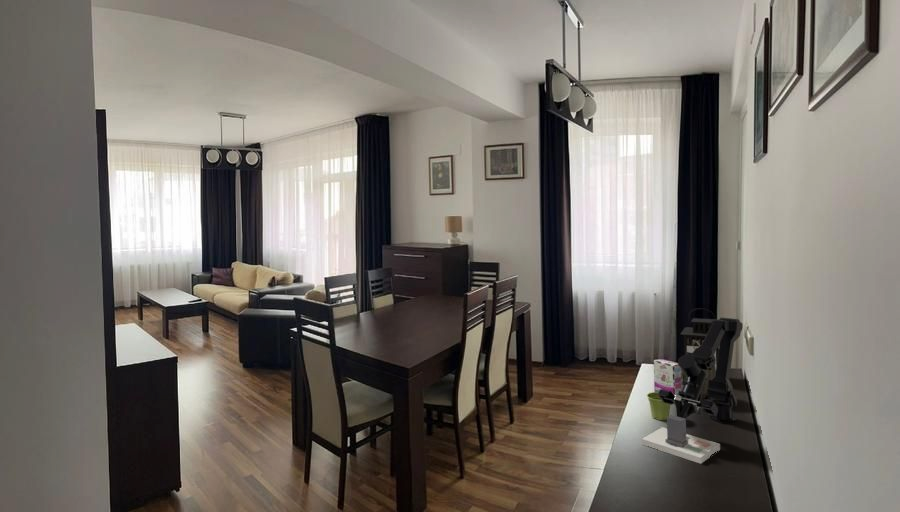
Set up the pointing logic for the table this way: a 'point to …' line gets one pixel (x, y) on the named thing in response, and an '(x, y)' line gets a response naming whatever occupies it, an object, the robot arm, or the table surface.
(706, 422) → the table surface
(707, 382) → the tabletop clock
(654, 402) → the plant pot
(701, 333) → the lantern
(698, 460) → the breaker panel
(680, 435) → the handle
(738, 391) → the table surface
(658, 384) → the candy bar box
